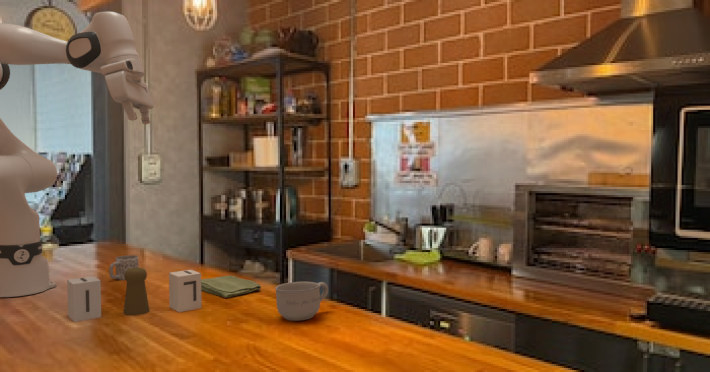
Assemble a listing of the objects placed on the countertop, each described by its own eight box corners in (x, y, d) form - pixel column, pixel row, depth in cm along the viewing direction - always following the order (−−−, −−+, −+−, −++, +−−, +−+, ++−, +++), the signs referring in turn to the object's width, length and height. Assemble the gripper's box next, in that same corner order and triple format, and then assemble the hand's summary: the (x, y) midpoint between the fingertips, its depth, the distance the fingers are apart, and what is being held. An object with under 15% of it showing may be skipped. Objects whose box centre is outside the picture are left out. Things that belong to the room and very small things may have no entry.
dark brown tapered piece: (140, 316, 133) (139, 271, 132) (118, 314, 134) (117, 270, 133) (154, 309, 139) (153, 266, 138) (132, 307, 140) (132, 265, 139)
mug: (128, 274, 179) (127, 254, 178) (143, 276, 176) (142, 256, 175) (102, 281, 170) (101, 260, 169) (117, 283, 167) (117, 261, 166)
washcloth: (226, 301, 148) (226, 289, 148) (191, 290, 160) (191, 279, 160) (264, 292, 158) (264, 281, 158) (229, 282, 170) (229, 272, 170)
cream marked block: (169, 307, 141) (168, 272, 140) (191, 303, 145) (191, 269, 144) (178, 312, 136) (178, 276, 135) (201, 308, 140) (201, 272, 139)
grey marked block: (68, 316, 133) (67, 279, 132) (94, 311, 137) (93, 275, 136) (74, 322, 128) (73, 283, 127) (101, 317, 132) (100, 279, 131)
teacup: (284, 326, 125) (284, 292, 124) (269, 314, 134) (269, 282, 134) (339, 318, 131) (339, 285, 131) (321, 307, 141) (321, 276, 140)
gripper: (129, 81, 154) (143, 128, 155) (96, 66, 134) (112, 120, 134) (151, 75, 155) (164, 122, 155) (121, 59, 134) (137, 113, 134)
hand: (140, 121), depth 144 cm, fingers open, 8 cm apart
